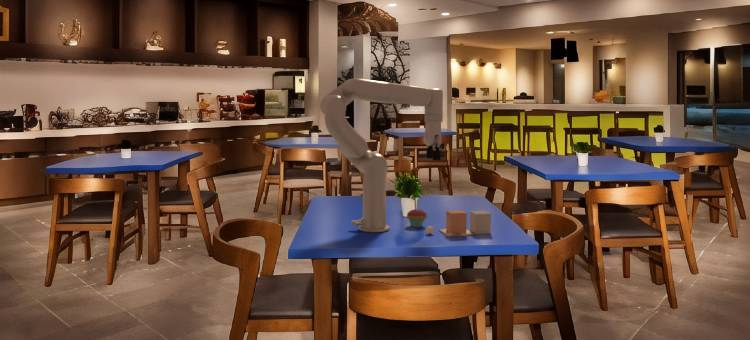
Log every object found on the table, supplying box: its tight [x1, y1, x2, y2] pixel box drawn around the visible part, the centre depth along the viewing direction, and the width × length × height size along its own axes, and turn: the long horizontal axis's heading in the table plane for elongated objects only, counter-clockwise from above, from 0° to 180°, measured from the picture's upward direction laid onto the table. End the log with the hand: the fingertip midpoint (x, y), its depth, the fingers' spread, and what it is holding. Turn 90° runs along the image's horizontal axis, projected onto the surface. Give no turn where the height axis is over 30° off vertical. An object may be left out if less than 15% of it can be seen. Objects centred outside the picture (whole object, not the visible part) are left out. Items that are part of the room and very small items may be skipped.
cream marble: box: [425, 225, 435, 235], centre depth 244 cm, size 3×3×3 cm
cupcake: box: [406, 198, 428, 228], centre depth 260 cm, size 9×8×12 cm
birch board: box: [438, 228, 475, 237], centre depth 246 cm, size 11×11×1 cm
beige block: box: [469, 210, 492, 235], centre depth 247 cm, size 6×6×8 cm
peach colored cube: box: [445, 209, 468, 233], centre depth 245 cm, size 6×6×8 cm
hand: (433, 159), depth 258 cm, fingers open, 9 cm apart
